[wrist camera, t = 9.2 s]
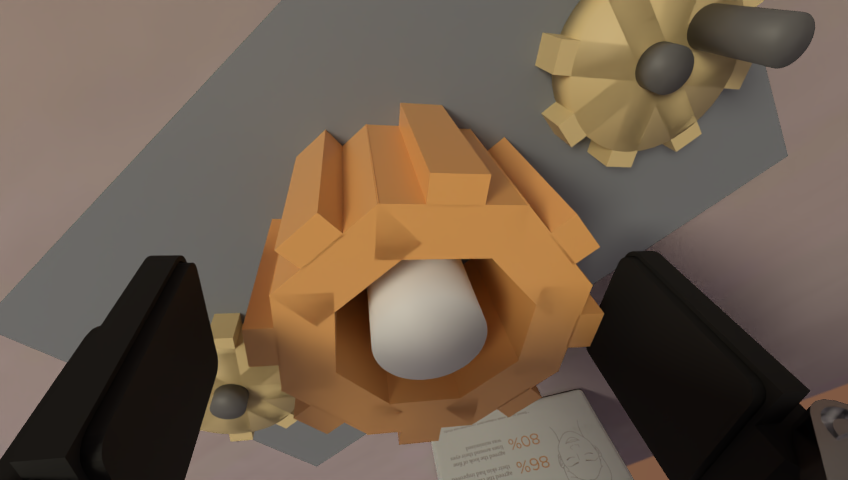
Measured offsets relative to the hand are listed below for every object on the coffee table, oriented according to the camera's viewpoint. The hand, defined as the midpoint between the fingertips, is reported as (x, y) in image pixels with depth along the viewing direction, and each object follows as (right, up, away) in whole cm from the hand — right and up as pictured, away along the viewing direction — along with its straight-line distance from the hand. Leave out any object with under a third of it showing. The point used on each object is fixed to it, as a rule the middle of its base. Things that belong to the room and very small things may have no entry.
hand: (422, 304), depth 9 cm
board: (-1, +3, +4) cm, 5 cm away
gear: (0, +2, +2) cm, 3 cm away
